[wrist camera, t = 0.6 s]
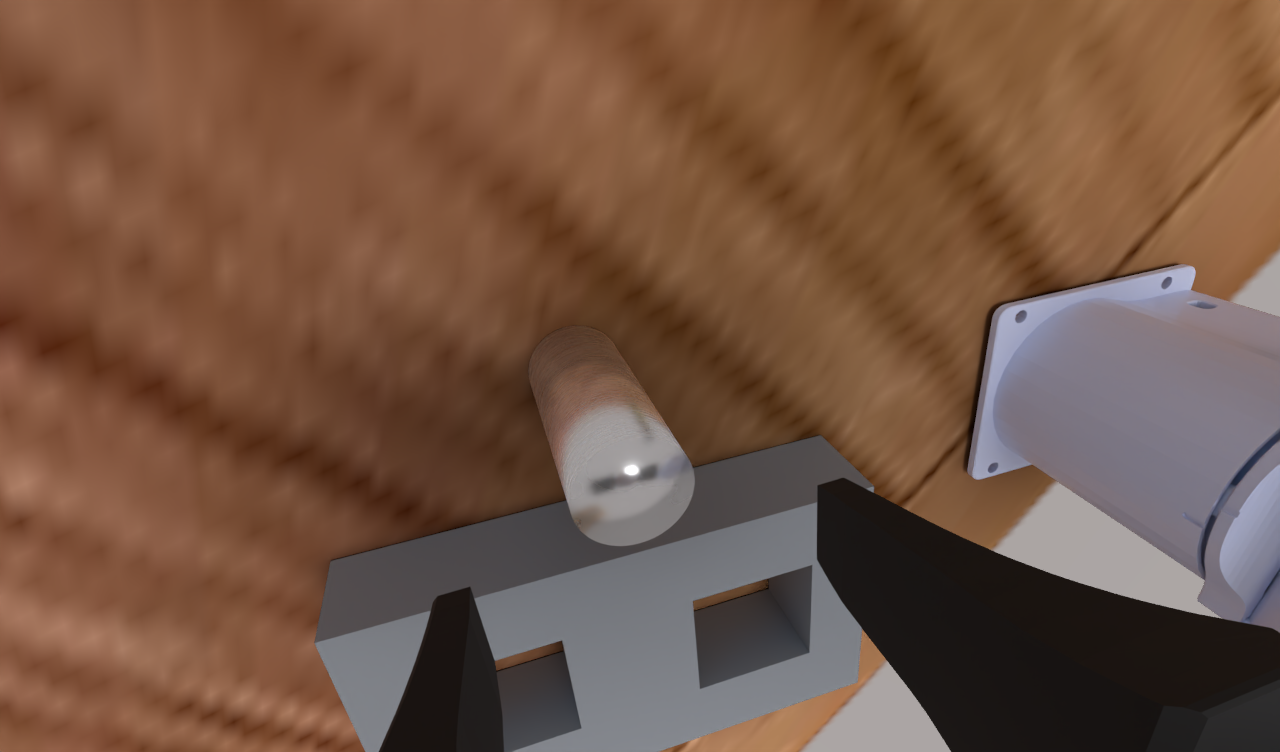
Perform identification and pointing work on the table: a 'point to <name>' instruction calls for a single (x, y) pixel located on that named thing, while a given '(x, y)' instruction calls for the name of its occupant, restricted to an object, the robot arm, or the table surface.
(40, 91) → the table surface
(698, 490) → the hole block
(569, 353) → the metal peg
